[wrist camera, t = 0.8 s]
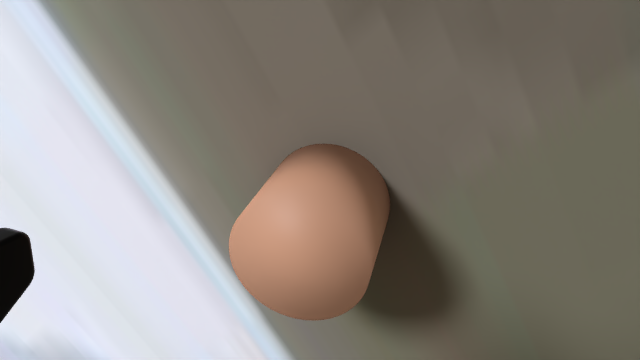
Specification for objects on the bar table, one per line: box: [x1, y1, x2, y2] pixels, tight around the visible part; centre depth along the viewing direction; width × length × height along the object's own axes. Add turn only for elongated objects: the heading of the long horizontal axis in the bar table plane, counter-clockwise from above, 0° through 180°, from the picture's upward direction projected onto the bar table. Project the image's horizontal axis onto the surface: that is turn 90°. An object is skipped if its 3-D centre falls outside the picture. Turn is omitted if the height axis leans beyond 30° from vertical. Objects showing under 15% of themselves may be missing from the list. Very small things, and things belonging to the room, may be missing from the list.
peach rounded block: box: [229, 144, 390, 320], centre depth 20 cm, size 5×5×4 cm
